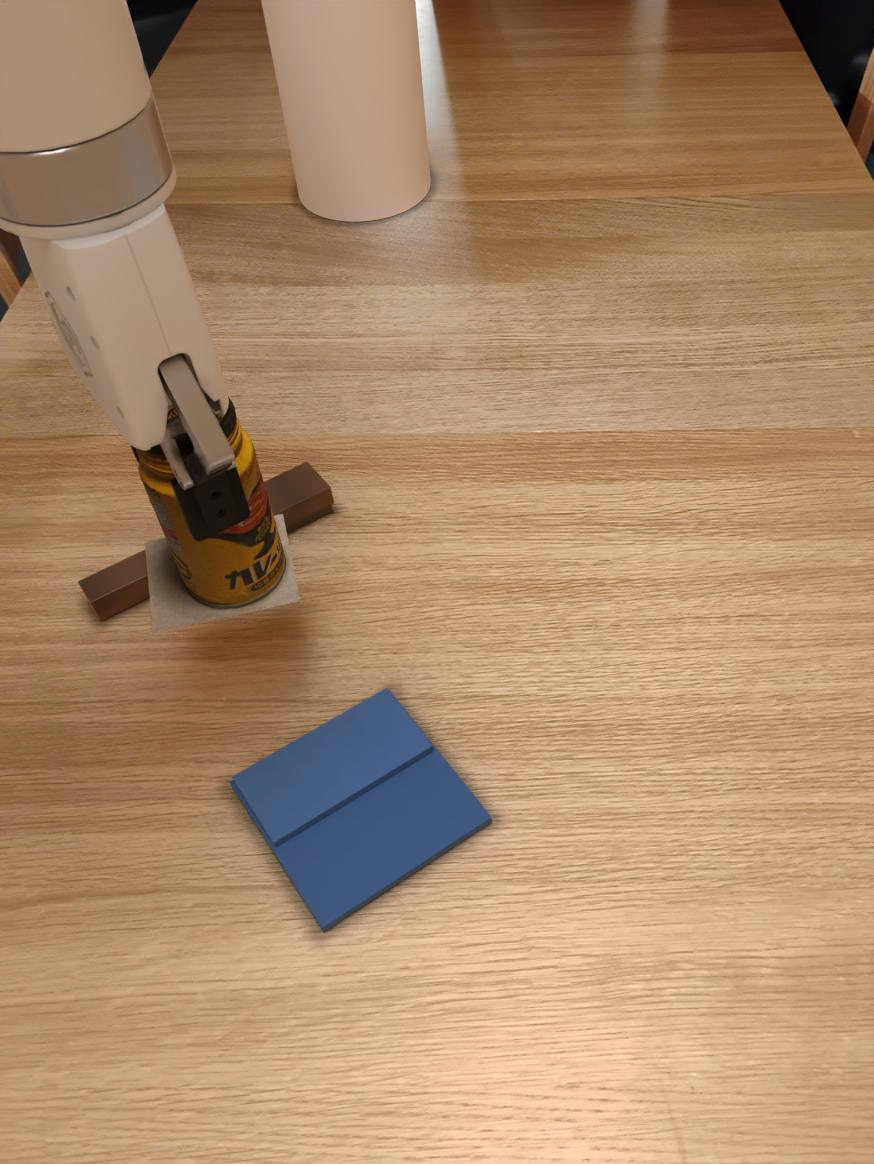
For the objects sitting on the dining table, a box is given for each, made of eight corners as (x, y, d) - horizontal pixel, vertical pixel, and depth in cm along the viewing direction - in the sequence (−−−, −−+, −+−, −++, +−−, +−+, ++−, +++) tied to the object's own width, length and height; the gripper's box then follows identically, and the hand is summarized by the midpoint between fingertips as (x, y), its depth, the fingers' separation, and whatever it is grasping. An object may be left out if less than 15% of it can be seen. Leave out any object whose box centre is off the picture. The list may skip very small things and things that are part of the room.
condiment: (301, 602, 57) (254, 440, 48) (152, 635, 56) (75, 477, 47) (283, 516, 62) (238, 352, 52) (146, 546, 61) (74, 384, 51)
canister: (438, 154, 106) (421, -68, 90) (421, 222, 97) (399, -10, 82) (313, 154, 107) (274, -65, 91) (285, 220, 99) (238, -8, 83)
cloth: (323, 932, 53) (319, 923, 52) (231, 786, 59) (226, 776, 58) (492, 822, 57) (491, 811, 56) (390, 694, 62) (387, 683, 61)
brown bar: (103, 627, 67) (91, 604, 65) (84, 595, 69) (72, 572, 67) (336, 511, 73) (331, 487, 71) (312, 485, 75) (307, 460, 73)
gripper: (-86, 108, 43) (69, 436, 57) (56, 286, 34) (199, 623, 48) (81, 58, 45) (190, 384, 59) (255, 211, 36) (335, 553, 50)
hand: (193, 488), depth 53 cm, fingers closed on condiment, 6 cm apart
